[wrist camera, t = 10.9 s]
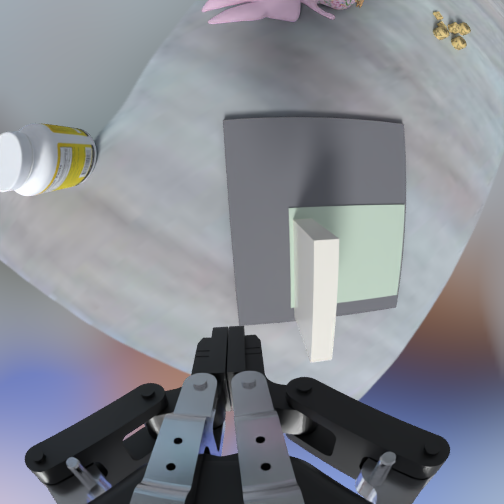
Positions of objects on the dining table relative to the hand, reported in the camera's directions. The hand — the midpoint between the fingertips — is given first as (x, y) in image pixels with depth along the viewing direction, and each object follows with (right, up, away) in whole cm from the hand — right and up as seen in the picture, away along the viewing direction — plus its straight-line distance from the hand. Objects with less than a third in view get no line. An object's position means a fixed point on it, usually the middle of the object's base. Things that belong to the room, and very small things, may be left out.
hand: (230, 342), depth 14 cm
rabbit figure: (+4, +26, +5) cm, 27 cm away
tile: (+5, +6, +6) cm, 10 cm away
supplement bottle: (-15, +13, +8) cm, 22 cm away
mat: (+7, +7, +11) cm, 15 cm away
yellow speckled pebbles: (+23, +29, +6) cm, 38 cm away
